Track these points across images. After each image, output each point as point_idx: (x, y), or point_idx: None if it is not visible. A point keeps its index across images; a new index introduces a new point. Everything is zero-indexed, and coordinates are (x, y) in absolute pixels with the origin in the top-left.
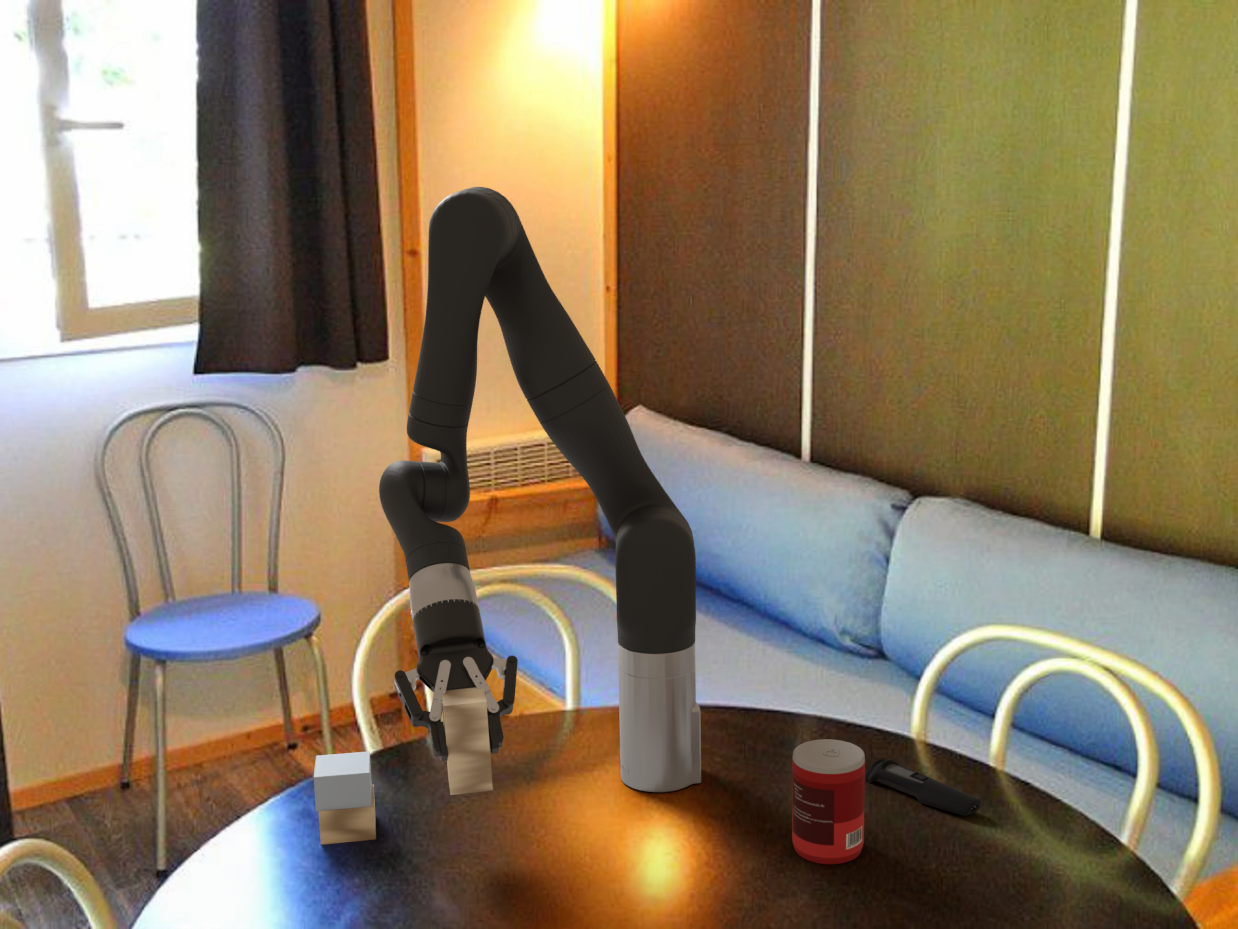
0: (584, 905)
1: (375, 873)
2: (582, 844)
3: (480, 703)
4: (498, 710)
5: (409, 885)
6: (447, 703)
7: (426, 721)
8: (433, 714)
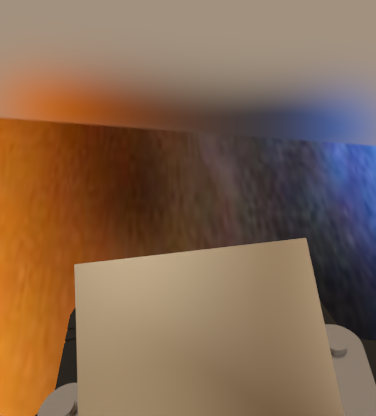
0: (45, 149)
1: (328, 256)
2: (21, 321)
3: (110, 263)
4: (47, 398)
5: (273, 217)
6: (290, 272)
7: (362, 342)
8: (345, 343)
